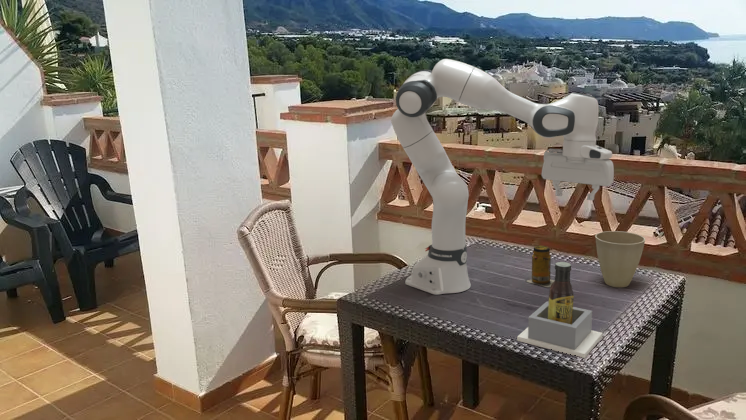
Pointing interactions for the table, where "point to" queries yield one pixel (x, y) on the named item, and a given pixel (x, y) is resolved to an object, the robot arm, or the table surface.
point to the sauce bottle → (561, 295)
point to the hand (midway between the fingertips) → (574, 197)
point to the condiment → (541, 266)
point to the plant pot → (619, 256)
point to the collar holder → (561, 332)
